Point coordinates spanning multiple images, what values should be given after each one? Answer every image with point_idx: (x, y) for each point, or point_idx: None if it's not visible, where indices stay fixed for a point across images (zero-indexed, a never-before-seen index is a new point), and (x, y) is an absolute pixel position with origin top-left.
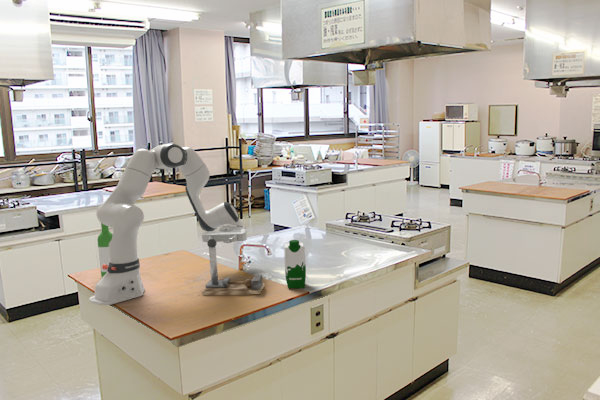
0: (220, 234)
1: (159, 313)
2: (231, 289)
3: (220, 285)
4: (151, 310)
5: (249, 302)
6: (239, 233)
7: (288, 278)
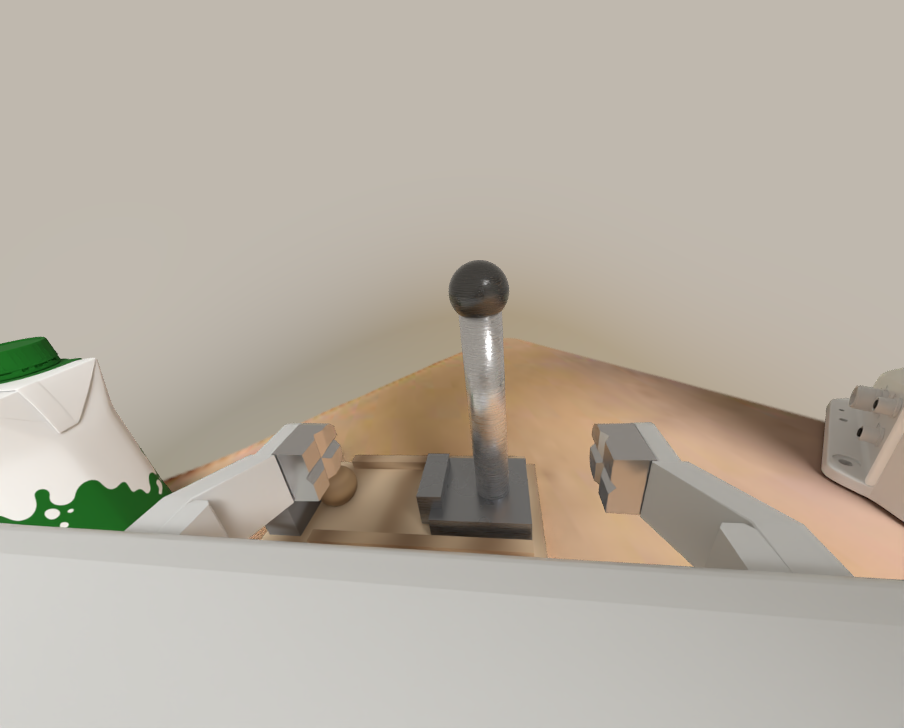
0: (484, 556)
1: (591, 378)
2: (414, 456)
3: (458, 458)
4: (629, 387)
5: (367, 424)
6: (24, 533)
7: (166, 486)
